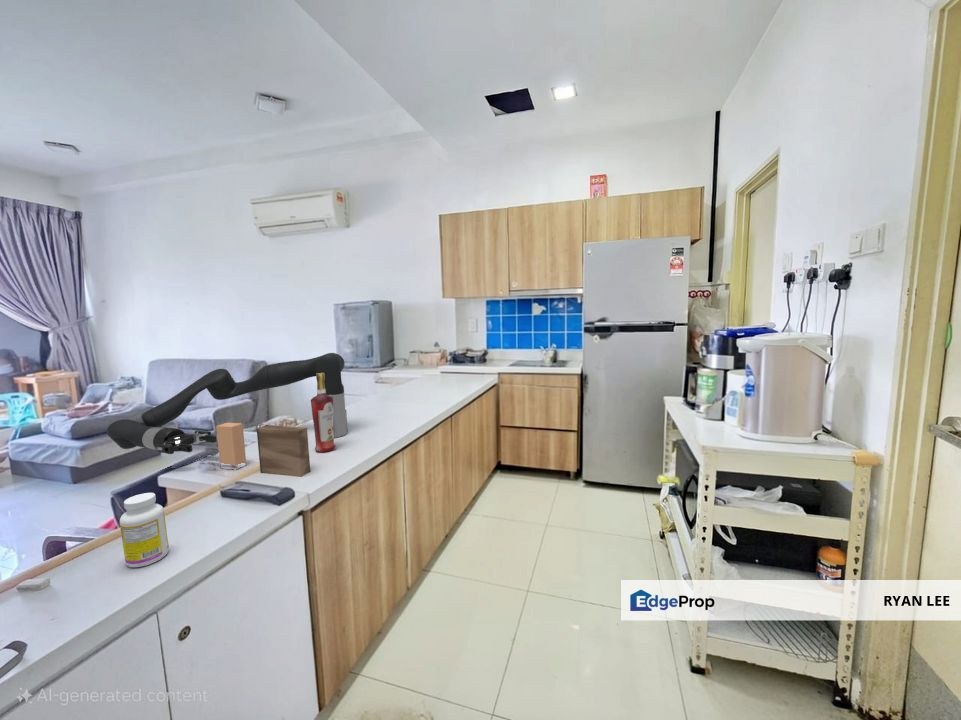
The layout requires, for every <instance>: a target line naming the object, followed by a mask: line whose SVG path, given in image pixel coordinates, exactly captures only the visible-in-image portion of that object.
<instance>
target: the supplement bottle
mask: <svg viewBox="0 0 961 720" xmlns="http://www.w3.org/2000/svg"><path fill="white" fill-rule="evenodd" d="M156 500H157V498H156V494H155V493H154V492H146V493H145V492H144V493H140V494H136V495H133V496H130V497H128V498H126V499H125V500H124V501H123V507H124V510H125V511H126V512H124V513H123V514H122V515H121V517H120V519H119V529H120V534H121V541H122V549H123V554H124V561H125V564H126V566H127V567H128V568H141V567H147V566H148V565H152V564H155V563H156V562H158V561H160V560H161V559H163V558H164V557H165V556H166V555H167V554H168V553H169V551H170V547H169V540H168V533H167V524H166V516H165V508H164V507H163V506H162V505H161V504H159V503H156Z"/></svg>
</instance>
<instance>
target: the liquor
mask: <svg viewBox="0 0 961 720" xmlns="http://www.w3.org/2000/svg"><path fill="white" fill-rule="evenodd" d="M315 378H316V383H317V384H316V388H317V389H316V395H315V396H313V397H312V398H311V399H310V404H311V405H310V406H311V415H312V421H313V430H314V439H315V447H314V450H315V451H317V452H318V453H328V452H331V451H333V450H334V448H336V444H335V438H334V432H333V398H332V397H331V396H329V395H326V390H325V384H324V378H325V377H324V373H317V374H316V376H315Z"/></svg>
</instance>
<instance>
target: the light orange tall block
mask: <svg viewBox="0 0 961 720" xmlns="http://www.w3.org/2000/svg"><path fill="white" fill-rule="evenodd" d="M215 427H216V440H217V447H218V457H219V464H220V463H224V464H230V465H234V466H236V465H238V464H241V463H246V464H247V456H246V447H245V436H244V425H243V423H241V422H225V423H221V424H218V425H216V426H215Z"/></svg>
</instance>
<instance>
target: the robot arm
mask: <svg viewBox="0 0 961 720" xmlns="http://www.w3.org/2000/svg"><path fill="white" fill-rule="evenodd" d="M344 368H345V359H344V358H343V357H342V356H341V355H340V354H338V353H335V352H328V353H325V354H323V355H320V356H317V357H313V358H308V359H300V360H291V361H283V362H282V361H281V362H275V363H272V364H267V365H264V366H262V367H260V369H259V370H258V371H257V372H256V373H254V374H253V376H252V377H250V378H249V379H247V380H243V381H238V382H237V381H235V379H234V378H233V376H232V375H231V373H230V372H229V370H227V369H225V368H216V369H214V370H212V371H209V372H208V373H206V374H204V375H203V376H202V377H200V378H198V379H196V381H194V382H193V383H191V384H190V385H188V386H187V387H186V388H184V389H182V390H181V391H179V392H178V393H177V394H175V395H174V396H172V397H171V398H169V399H167V400H166V401H164V402H161V403H160V404H158V405H156V406H154V407H152V408H151V409H150V408H149V410H146V411H144V412H143V413H142V414H141V416H140V417H141V420H142V422H143V423H141V422H139V421H135V420H133V419H127V418H124V419H123V418H122V419H117V420H116V421H113V422H112V423H110V424H109V425H108V426H107V429H106V434H107V436H108V437H109V438H110V439H111V440H112V441H113V442H114V443H115V444H116V445H117V446H119V448H121V449H124V450H129V449H133V448H136V447H138V448H139V447H140V448H146V449H151V450H153V451H154V450H156V451H157V452H158V453H161V454H166V455H167V454H168V455H174V454H175V452H176V453H181V452H182V453H183V452H184V453H191V452H193V446H192V445H198V444H200V443H205V442H206V443H210V444H211V443H216V442H217V435H213V434H212V432H211V431H209V430H208V431H206V430H195V431H194V433H188V432H187V433H185V431H183V430H182V429H180V428H175V427H174V428H172V427H167V426H165V425H167V424H169V423H171V422H172V421H174V420H176V419H178V417H180V416H181V415H182V414H183V413H184V412H185V410H186V409H187V408H188V406H190V403H191V402H192V401H193V400H194V398H195V397H197V395H198V394H200V393H202V391H205V390H207V391H208V393H209V394H210V396H211V397H212V399H214V400H217V401H223V400H228V399H233V398H236V397H239V396H242V395H245V394H250V393H253V392H257V391H258V392H259V391H262V390H263V391H264V390H268V389H274V388H278V387H279V388H280V387H283V386H288V385H291V384H296V383H297V382H298V383H299V382H300V381H303V380H307V379H309V378H315V377H316V374H317V373H324V377H325V378H324V384H325V390H326V395H329V396H331V397H332V398H333V432H334V439H335V438H336V439H337V438H341V437H343V436H346V435H347V433H348V417H347V414H348V412H347V409H346V402H345V401H346V398H345V387H344V384H343V382H342V371H343V369H344ZM195 440H196V441H195Z"/></svg>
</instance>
